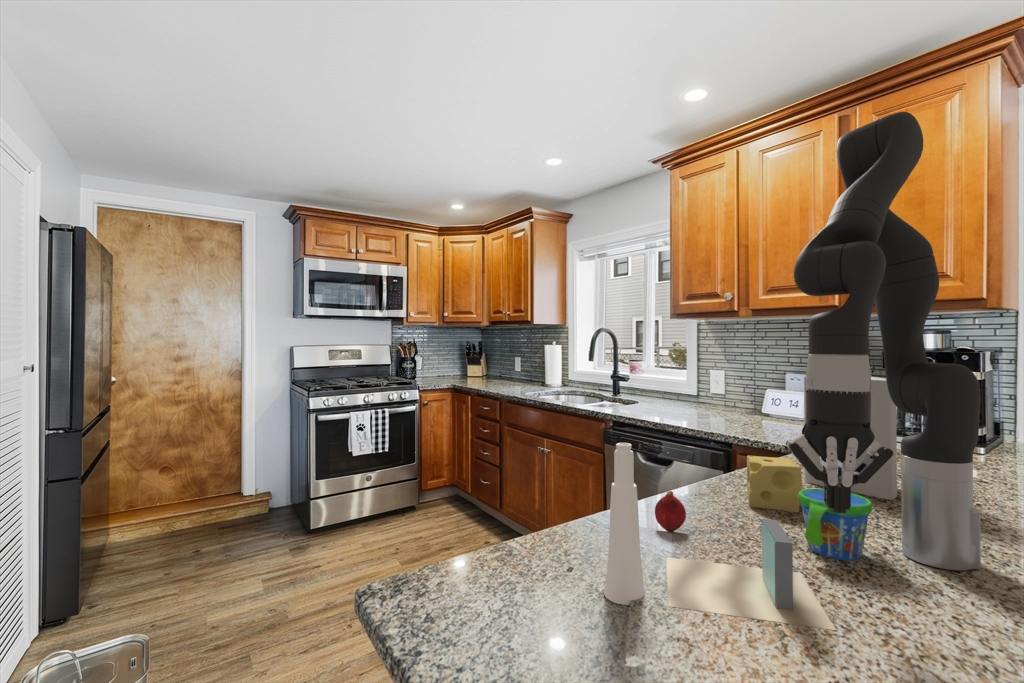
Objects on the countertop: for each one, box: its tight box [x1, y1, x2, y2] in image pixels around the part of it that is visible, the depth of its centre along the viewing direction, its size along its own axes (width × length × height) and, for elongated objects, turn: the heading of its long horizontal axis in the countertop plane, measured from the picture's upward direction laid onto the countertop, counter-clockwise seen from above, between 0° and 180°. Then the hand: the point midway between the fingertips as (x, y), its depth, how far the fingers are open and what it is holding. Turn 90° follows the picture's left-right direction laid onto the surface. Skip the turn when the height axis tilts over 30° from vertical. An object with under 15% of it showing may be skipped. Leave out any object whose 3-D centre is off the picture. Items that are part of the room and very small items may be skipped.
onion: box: [654, 490, 687, 533], centre depth 95 cm, size 6×6×8 cm
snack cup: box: [798, 488, 874, 562], centre depth 84 cm, size 16×10×10 cm
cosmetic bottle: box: [603, 442, 646, 606], centre depth 71 cm, size 6×6×22 cm
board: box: [665, 556, 837, 632], centre depth 71 cm, size 20×16×1 cm
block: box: [761, 518, 794, 611], centre depth 70 cm, size 2×9×9 cm, turn 163°
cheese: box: [746, 455, 803, 513], centre depth 112 cm, size 10×11×10 cm
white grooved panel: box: [803, 376, 898, 501], centre depth 127 cm, size 19×15×28 cm
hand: (836, 511), depth 68 cm, fingers closed
